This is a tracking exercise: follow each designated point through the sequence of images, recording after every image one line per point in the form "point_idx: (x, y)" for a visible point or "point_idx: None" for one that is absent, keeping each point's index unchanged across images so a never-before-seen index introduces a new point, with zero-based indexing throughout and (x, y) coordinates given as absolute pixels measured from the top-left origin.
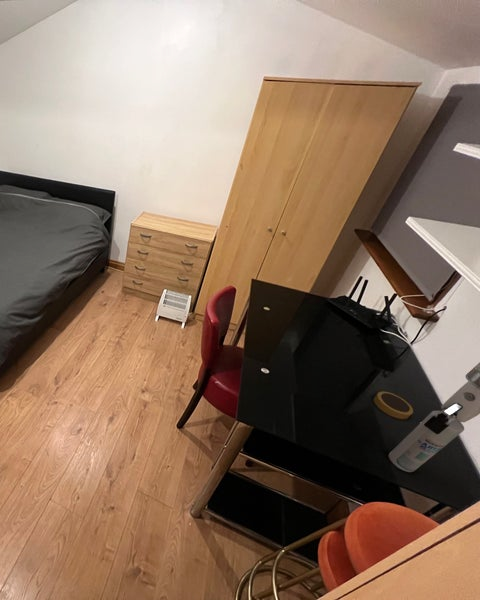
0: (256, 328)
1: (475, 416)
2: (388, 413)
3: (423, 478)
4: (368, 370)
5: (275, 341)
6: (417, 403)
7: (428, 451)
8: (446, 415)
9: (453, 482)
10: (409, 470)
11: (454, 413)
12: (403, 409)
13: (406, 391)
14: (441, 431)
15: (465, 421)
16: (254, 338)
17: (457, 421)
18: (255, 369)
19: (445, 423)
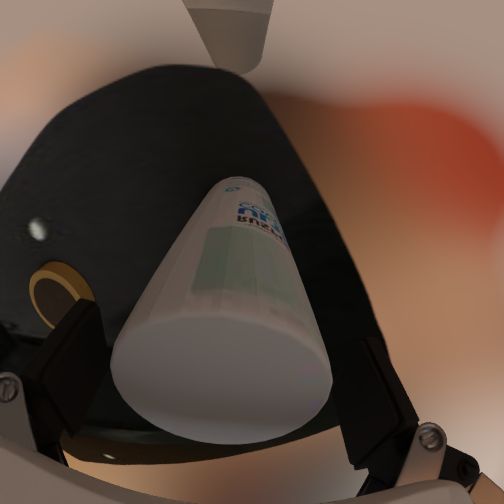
0: (167, 461)
1: (86, 497)
2: (90, 294)
3: (239, 150)
4: (33, 348)
5: (160, 447)
6: (6, 264)
7: (278, 225)
8: (498, 497)
9: (164, 102)
10: (261, 186)
11: (80, 386)
12: (55, 288)
13: (4, 288)
14: (388, 362)
15: (433, 501)
16: (194, 459)
17: (138, 363)
18: (272, 441)
19: (439, 440)
